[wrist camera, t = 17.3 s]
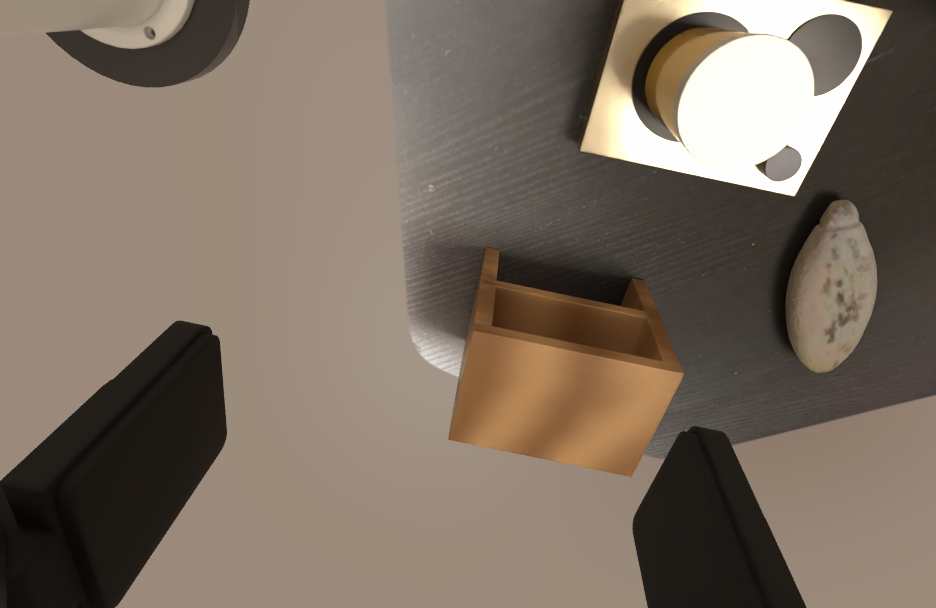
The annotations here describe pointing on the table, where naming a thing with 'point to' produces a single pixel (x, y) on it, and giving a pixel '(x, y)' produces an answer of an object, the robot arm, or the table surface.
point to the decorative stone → (831, 289)
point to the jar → (730, 94)
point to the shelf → (563, 374)
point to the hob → (739, 9)
